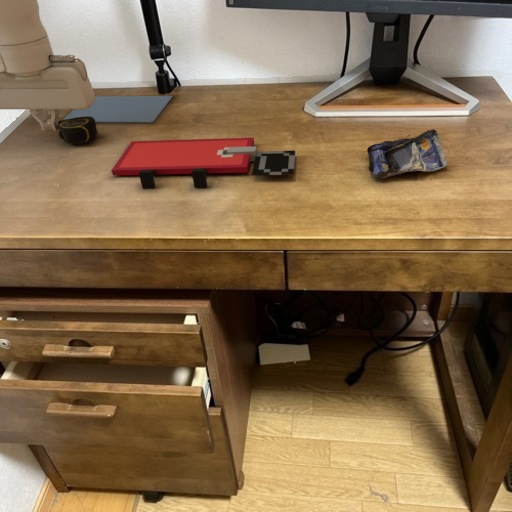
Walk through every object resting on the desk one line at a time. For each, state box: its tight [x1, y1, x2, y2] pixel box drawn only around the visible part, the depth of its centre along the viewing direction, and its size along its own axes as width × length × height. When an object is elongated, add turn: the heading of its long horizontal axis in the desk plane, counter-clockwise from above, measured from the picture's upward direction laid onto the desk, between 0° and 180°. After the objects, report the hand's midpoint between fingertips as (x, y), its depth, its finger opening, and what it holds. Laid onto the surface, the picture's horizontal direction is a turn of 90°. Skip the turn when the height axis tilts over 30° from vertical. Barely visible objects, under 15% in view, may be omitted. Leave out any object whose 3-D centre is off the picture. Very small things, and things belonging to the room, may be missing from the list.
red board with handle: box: [110, 137, 296, 190], centre depth 82 cm, size 30×3×15 cm
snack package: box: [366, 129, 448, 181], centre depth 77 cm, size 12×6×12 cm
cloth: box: [62, 95, 174, 124], centre depth 106 cm, size 20×14×1 cm
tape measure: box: [58, 116, 98, 145], centre depth 93 cm, size 7×7×4 cm
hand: (51, 129), depth 95 cm, fingers closed
